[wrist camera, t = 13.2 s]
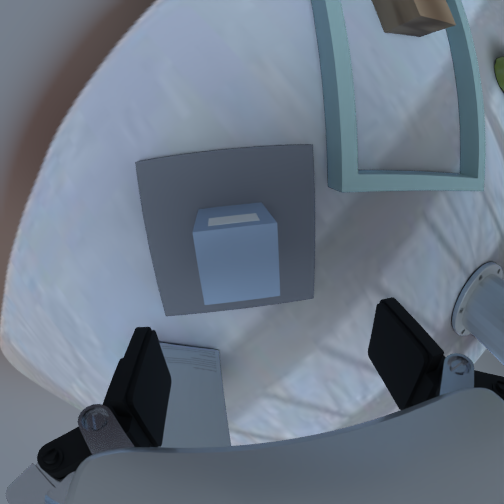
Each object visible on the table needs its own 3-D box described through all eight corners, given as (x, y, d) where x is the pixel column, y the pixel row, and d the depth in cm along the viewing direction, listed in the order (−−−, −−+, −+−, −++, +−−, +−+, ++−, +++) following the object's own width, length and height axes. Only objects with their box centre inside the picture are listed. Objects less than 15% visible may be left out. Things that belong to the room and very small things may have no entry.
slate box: (261, 202, 22) (277, 222, 17) (265, 260, 24) (280, 295, 18) (198, 208, 22) (192, 232, 16) (206, 267, 24) (204, 305, 18)
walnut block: (404, -1, 16) (437, -18, 11) (419, 36, 18) (456, 25, 13) (368, -7, 16) (399, -30, 11) (384, 32, 18) (420, 15, 13)
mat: (308, 144, 22) (312, 144, 21) (310, 293, 27) (313, 298, 26) (138, 161, 21) (135, 162, 20) (167, 310, 26) (165, 316, 25)
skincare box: (145, 373, 29) (126, 486, 15) (145, 335, 27) (115, 461, 13) (216, 383, 30) (223, 497, 17) (224, 347, 28) (236, 475, 15)
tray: (442, -4, 15) (457, -10, 13) (465, 185, 25) (483, 191, 22) (300, -49, 14) (309, -64, 11) (327, 186, 23) (342, 192, 21)
